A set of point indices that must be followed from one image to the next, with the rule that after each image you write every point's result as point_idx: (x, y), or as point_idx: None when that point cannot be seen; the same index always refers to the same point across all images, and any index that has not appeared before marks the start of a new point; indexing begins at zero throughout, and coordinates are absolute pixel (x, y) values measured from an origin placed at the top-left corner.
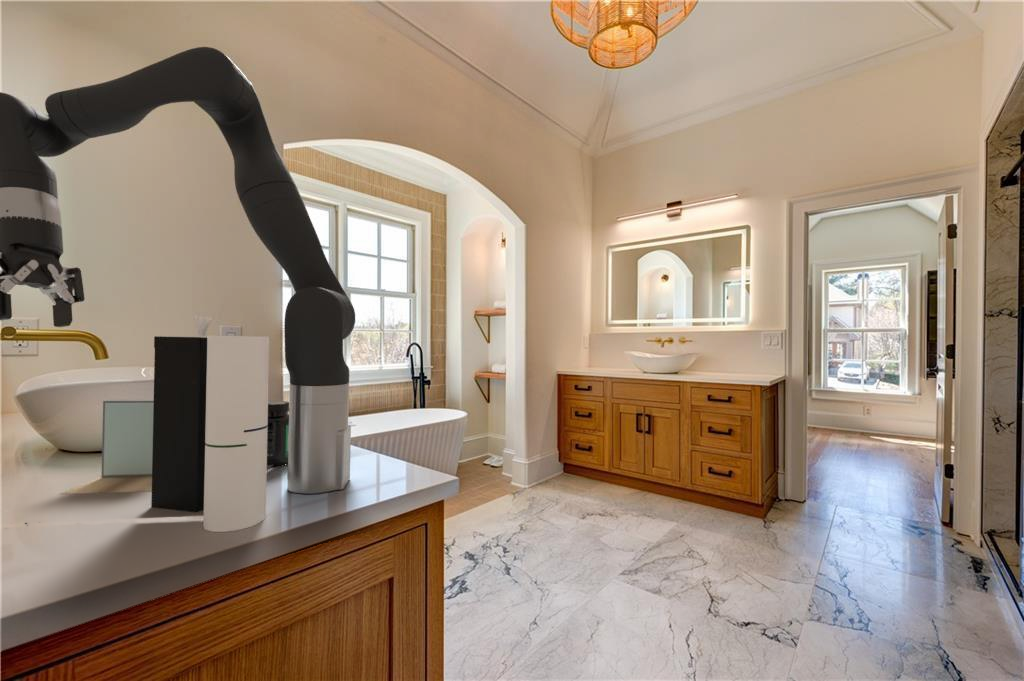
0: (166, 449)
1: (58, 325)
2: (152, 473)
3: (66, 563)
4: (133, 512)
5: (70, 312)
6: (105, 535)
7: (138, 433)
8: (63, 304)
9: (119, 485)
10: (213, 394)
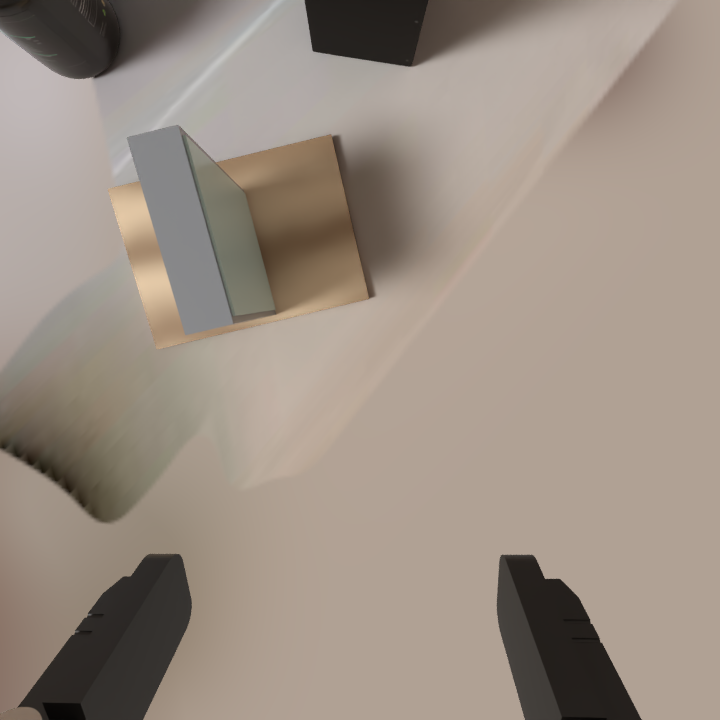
0: None
1: (185, 595)
2: (421, 23)
3: (596, 18)
4: (417, 97)
5: (74, 646)
6: (509, 53)
7: (235, 233)
8: (88, 710)
9: (312, 234)
10: None
